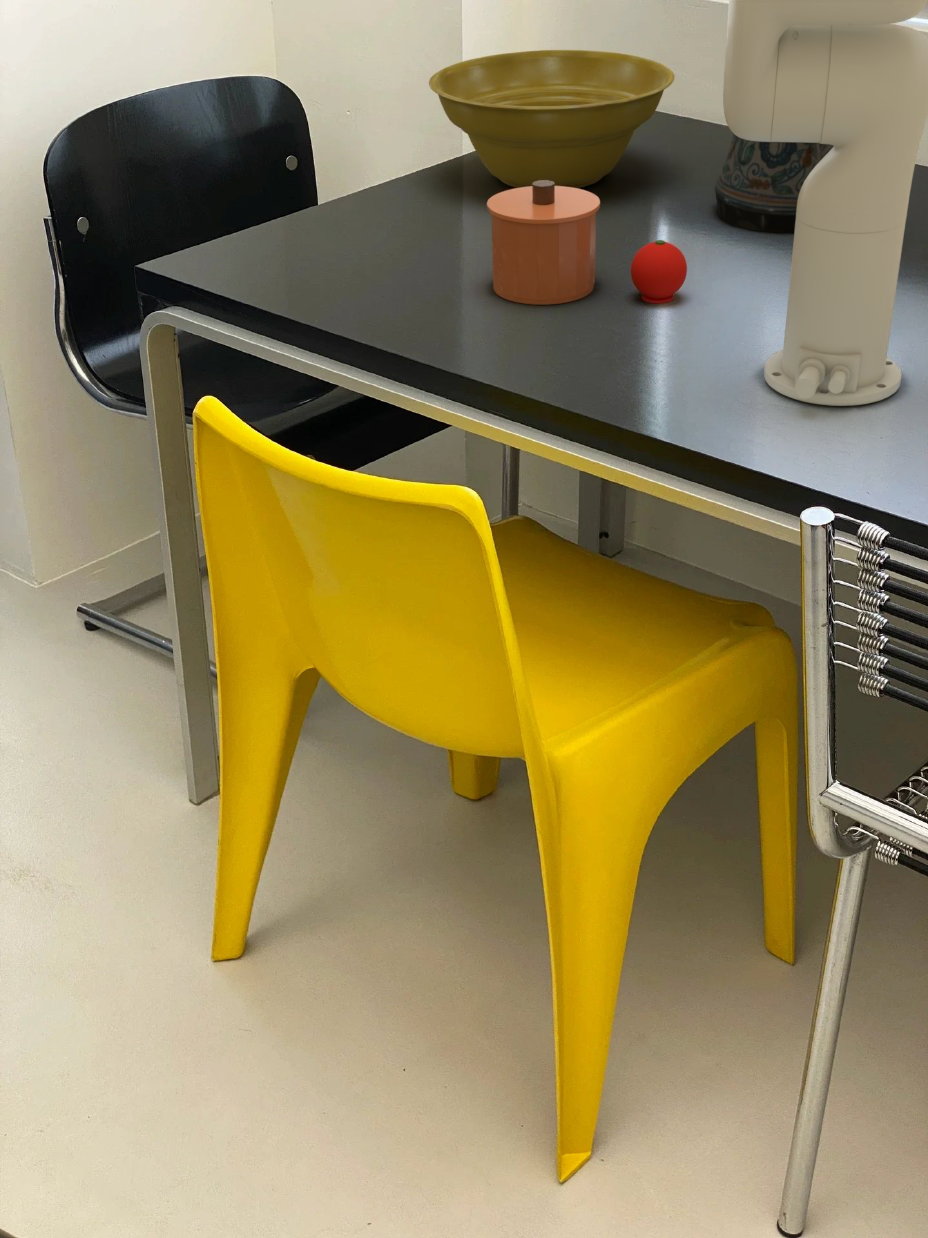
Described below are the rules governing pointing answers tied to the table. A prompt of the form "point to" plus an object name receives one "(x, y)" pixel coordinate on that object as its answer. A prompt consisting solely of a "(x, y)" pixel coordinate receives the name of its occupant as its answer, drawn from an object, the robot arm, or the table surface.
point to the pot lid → (543, 204)
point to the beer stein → (765, 182)
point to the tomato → (658, 271)
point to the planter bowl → (551, 111)
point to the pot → (543, 260)
